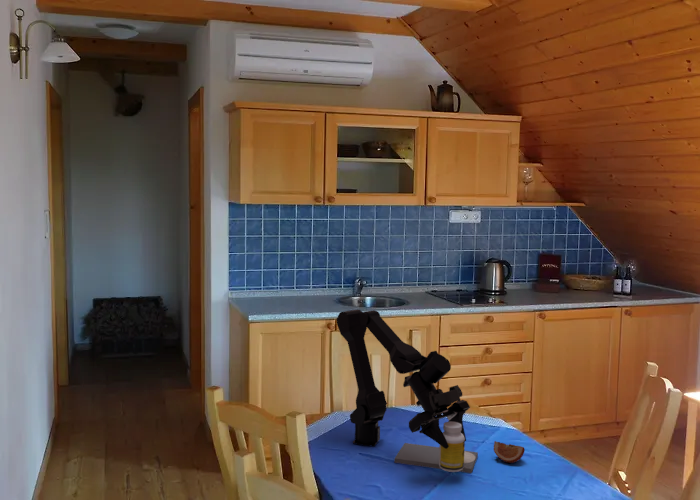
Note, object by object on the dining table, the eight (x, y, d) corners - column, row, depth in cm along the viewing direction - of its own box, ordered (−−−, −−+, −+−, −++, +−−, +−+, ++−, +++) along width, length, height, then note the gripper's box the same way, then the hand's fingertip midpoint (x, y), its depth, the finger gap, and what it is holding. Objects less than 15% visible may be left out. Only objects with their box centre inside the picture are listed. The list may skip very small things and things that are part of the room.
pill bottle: (463, 474, 183) (464, 430, 182) (437, 471, 184) (439, 428, 183) (464, 463, 189) (465, 421, 188) (439, 461, 191) (441, 419, 189)
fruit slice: (489, 461, 199) (490, 443, 198) (498, 453, 204) (499, 436, 204) (518, 468, 194) (519, 450, 194) (527, 460, 200) (528, 442, 199)
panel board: (394, 462, 197) (394, 457, 197) (404, 446, 208) (404, 442, 208) (471, 473, 190) (471, 468, 190) (477, 456, 202) (477, 452, 202)
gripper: (418, 383, 181) (449, 438, 174) (466, 370, 193) (497, 421, 186) (395, 405, 188) (424, 459, 181) (442, 391, 200) (472, 441, 193)
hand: (456, 444), depth 185 cm, fingers closed on pill bottle, 6 cm apart
